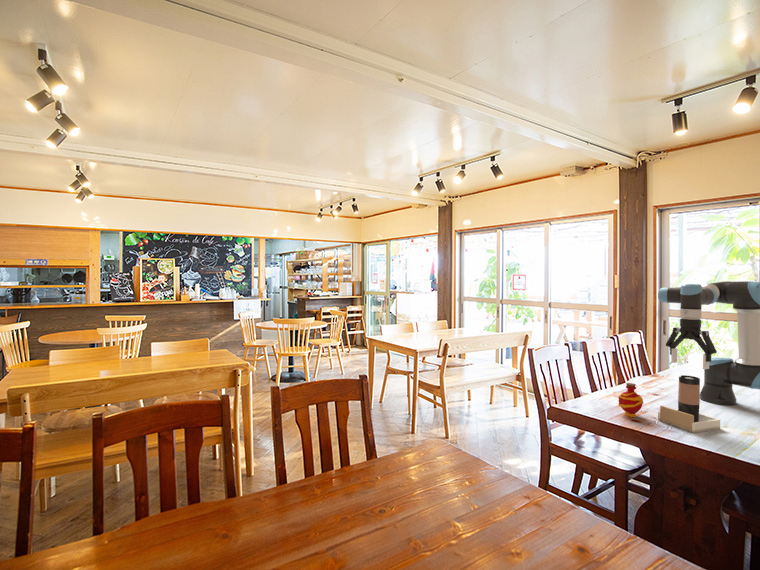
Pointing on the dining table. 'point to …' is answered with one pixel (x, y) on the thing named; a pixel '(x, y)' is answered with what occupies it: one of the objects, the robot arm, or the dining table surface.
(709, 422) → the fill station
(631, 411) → the potion bottle
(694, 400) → the travel mug
